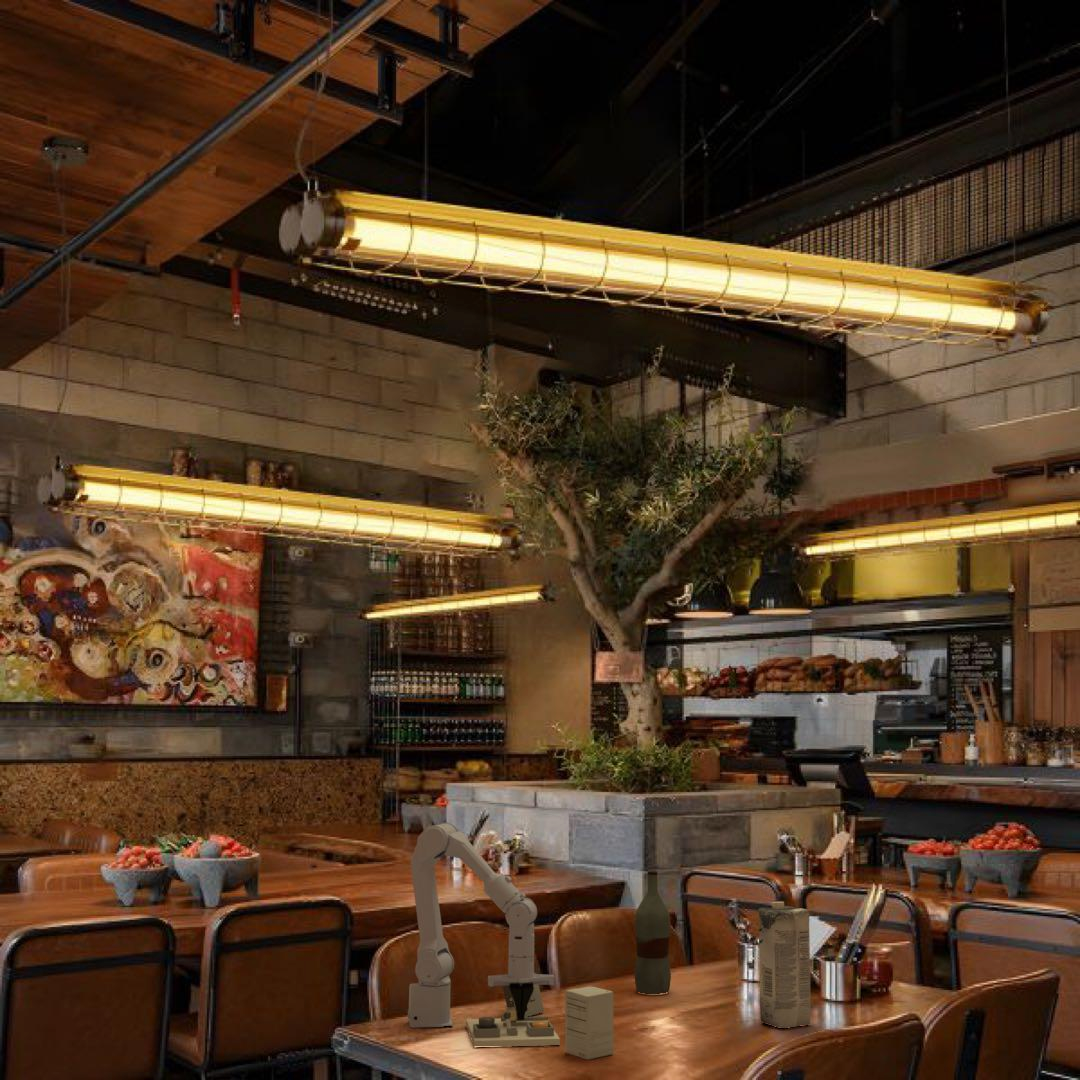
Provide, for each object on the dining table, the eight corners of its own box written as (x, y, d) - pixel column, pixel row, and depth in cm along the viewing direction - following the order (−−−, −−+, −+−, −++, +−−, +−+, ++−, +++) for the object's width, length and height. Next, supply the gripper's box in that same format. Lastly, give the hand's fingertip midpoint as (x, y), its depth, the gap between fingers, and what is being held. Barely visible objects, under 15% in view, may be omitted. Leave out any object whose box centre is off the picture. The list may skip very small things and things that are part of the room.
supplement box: (591, 1047, 282) (591, 985, 284) (614, 1054, 276) (614, 991, 278) (563, 1053, 277) (564, 989, 279) (587, 1060, 272) (587, 995, 273)
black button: (479, 1028, 284) (479, 1020, 284) (477, 1024, 288) (478, 1017, 288) (495, 1028, 285) (495, 1020, 285) (493, 1024, 288) (493, 1016, 288)
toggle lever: (507, 1034, 286) (503, 1013, 286) (506, 1032, 287) (502, 1011, 288) (514, 1032, 286) (510, 1011, 287) (513, 1030, 288) (509, 1009, 288)
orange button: (533, 1032, 286) (533, 1024, 286) (531, 1028, 289) (531, 1020, 289) (549, 1031, 286) (549, 1024, 286) (546, 1028, 290) (546, 1020, 290)
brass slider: (506, 1023, 295) (506, 1010, 295) (505, 1020, 298) (505, 1007, 298) (515, 1023, 295) (515, 1010, 296) (514, 1020, 298) (514, 1007, 299)
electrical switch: (519, 1020, 307) (516, 977, 308) (501, 1019, 310) (499, 977, 312) (544, 1013, 314) (542, 972, 316) (527, 1012, 317) (525, 971, 319)
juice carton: (816, 1026, 303) (814, 903, 307) (780, 1031, 298) (779, 906, 301) (790, 1018, 311) (788, 898, 314) (754, 1023, 305) (753, 901, 309)
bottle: (629, 989, 342) (629, 868, 346) (663, 988, 344) (663, 868, 348) (641, 997, 333) (641, 873, 337) (676, 995, 335) (675, 872, 339)
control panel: (474, 1048, 280) (474, 1032, 281) (466, 1026, 300) (466, 1011, 300) (559, 1046, 283) (559, 1030, 283) (545, 1024, 303) (545, 1009, 303)
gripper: (490, 959, 294) (489, 1023, 292) (556, 958, 296) (555, 1022, 294) (487, 953, 301) (486, 1016, 299) (551, 952, 303) (551, 1015, 301)
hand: (520, 1019), depth 297 cm, fingers closed
